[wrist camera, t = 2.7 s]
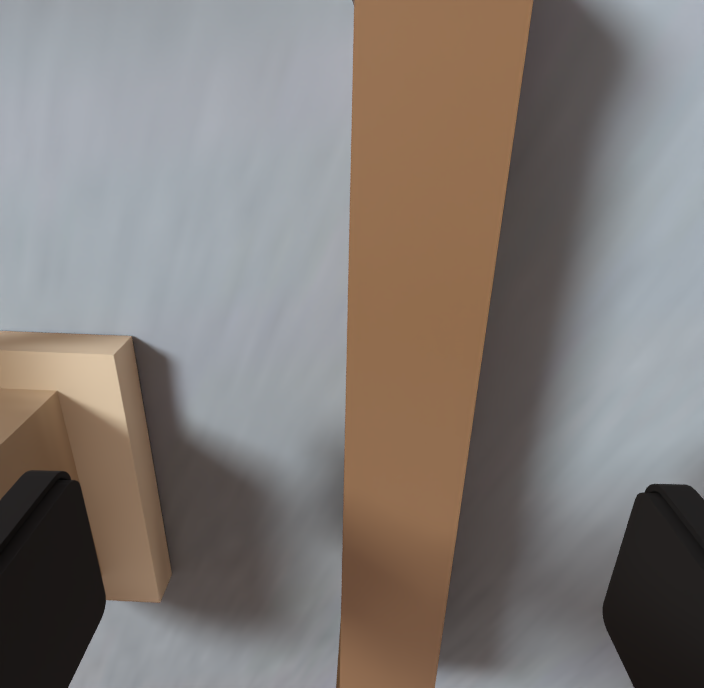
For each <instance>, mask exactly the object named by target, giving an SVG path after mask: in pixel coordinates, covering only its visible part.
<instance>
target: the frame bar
mask: <svg viewBox="0 0 704 688" xmlns="http://www.w3.org/2000/svg"><path fill="white" fill-rule="evenodd" d="M352 1H353V4H354V44H353V90H352V137H351V183H350V229H349V275H348V321H347V367H346V414H345V460H344V506H343V552H342V598H341V624H340V639H339V654H338V669H337V684H336V688H435V681H436V674H437V667H438V661H439V654H440V647H441V640H442V633H443V626H444V619H445V612H446V605H447V598H448V591H449V584H450V577H451V570H452V563H453V556H454V549H455V542H456V535H457V528H458V521H459V514H460V507H461V500H462V494H463V487H464V480H465V473H466V466H467V459H468V452H469V445H470V438H471V431H472V424H473V417H474V410H475V403H476V396H477V389H478V382H479V375H480V368H481V361H482V354H483V347H484V340H485V333H486V326H487V320H488V313H489V306H490V299H491V292H492V285H493V278H494V271H495V264H496V257H497V250H498V243H499V236H500V229H501V222H502V215H503V208H504V201H505V194H506V187H507V180H508V173H509V166H510V159H511V152H512V146H513V139H514V132H515V125H516V118H517V111H518V104H519V97H520V90H521V83H522V76H523V69H524V62H525V55H526V48H527V41H528V34H529V27H530V20H531V13H532V6H533V0H352Z"/></svg>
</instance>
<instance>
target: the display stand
mask: <svg viewBox="0 0 704 688" xmlns="http://www.w3.org/2000/svg"><path fill="white" fill-rule="evenodd" d="M30 470H45V471H65V472H67V473H68V474H69V475H70V477H71V480H76V481H78V482H79V483H80V486H81V489H82V493H83V498H84V502H85V507H86V511H87V515H88V520H89V524H90V528H91V533H92V537H93V541H94V546H95V550H96V554H97V559H98V563H99V567H100V572H101V576H102V580H103V585H104V589H105V594H106V600H117V601H136V602H156V603H160V602H161V600H162V597H163V595H164V592H165V590H166V588H167V585H168V583H169V580H170V578H171V576H172V571H171V565H170V560H169V554H168V548H167V542H166V536H165V530H164V524H163V518H162V512H161V506H160V500H159V494H158V489H157V483H156V477H155V471H154V465H153V459H152V453H151V447H150V441H149V435H148V429H147V423H146V417H145V412H144V406H143V400H142V394H141V388H140V382H139V376H138V370H137V364H136V358H135V352H134V346H133V341H132V336H117V335H91V334H65V333H39V332H13V331H0V500H1V498H2V497H3V496H4V495H5V494H6V493H7V492H8V490H9V489H10V488H11V487H12V486H13V485H14V484H15V483H16V481H17V480H18V479H19V478H20V477H21V476H22V475H23V474H24V473H25V472H27V471H30Z"/></svg>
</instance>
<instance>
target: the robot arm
mask: <svg viewBox="0 0 704 688" xmlns="http://www.w3.org/2000/svg"><path fill="white" fill-rule="evenodd" d="M105 604H106V594H105V589H104V585H103V580H102V576H101V572H100V567H99V563H98V559H97V554H96V550H95V546H94V541H93V537H92V533H91V528H90V524H89V520H88V515H87V511H86V507H85V502H84V498H83V493H82V489H81V486H80V483H79V482H78V481H76V480H71V477H70V475H69V474H68V473H67V472H65V471H45V470H30V471H27V472H25V473H24V474H23V475H22V476H21V477H20V478H19V479H18V480H17V481H16V483H15V484H14V485H13V486H12V487H11V488H10V489H9V490H8V492H7V493H6V494H5V495H4V496H3V497H2V498H1V500H0V688H68V686H69V684H70V682H71V680H72V678H73V676H74V674H75V672H76V670H77V668H78V666H79V664H80V662H81V660H82V658H83V656H84V653H85V651H86V649H87V647H88V645H89V643H90V641H91V639H92V637H93V635H94V633H95V631H96V629H97V627H98V625H99V623H100V621H101V618H102V616H103V613H104V609H105ZM603 619H604V623H605V626H606V629H607V631H608V633H609V635H610V637H611V640H612V642H613V644H614V646H615V648H616V650H617V652H618V654H619V656H620V659H621V661H622V663H623V665H624V667H625V669H626V671H627V673H628V675H629V678H630V680H631V682H632V684H633V686H634V688H704V499H703V498H702V497H701V496H700V495H699V494H698V493H697V491H696V490H694V489H693V488H692V487H691V486H688V485H677V484H652V485H649V486H648V487H647V488H646V490H645V493H639V494H638V495H637V497H636V499H635V502H634V505H633V508H632V511H631V515H630V518H629V521H628V524H627V528H626V531H625V534H624V538H623V541H622V544H621V547H620V551H619V554H618V557H617V560H616V564H615V567H614V570H613V574H612V577H611V580H610V583H609V587H608V590H607V593H606V596H605V600H604V603H603Z"/></svg>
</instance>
